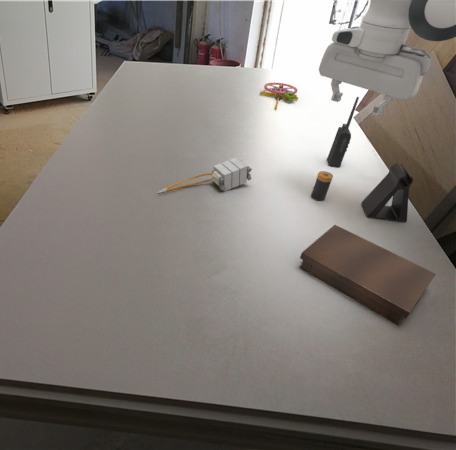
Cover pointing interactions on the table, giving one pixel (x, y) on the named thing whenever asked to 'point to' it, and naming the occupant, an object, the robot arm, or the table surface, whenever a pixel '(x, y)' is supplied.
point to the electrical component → (224, 175)
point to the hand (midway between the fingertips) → (355, 107)
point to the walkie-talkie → (341, 142)
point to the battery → (321, 185)
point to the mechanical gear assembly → (280, 92)
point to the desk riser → (367, 272)
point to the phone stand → (390, 196)
